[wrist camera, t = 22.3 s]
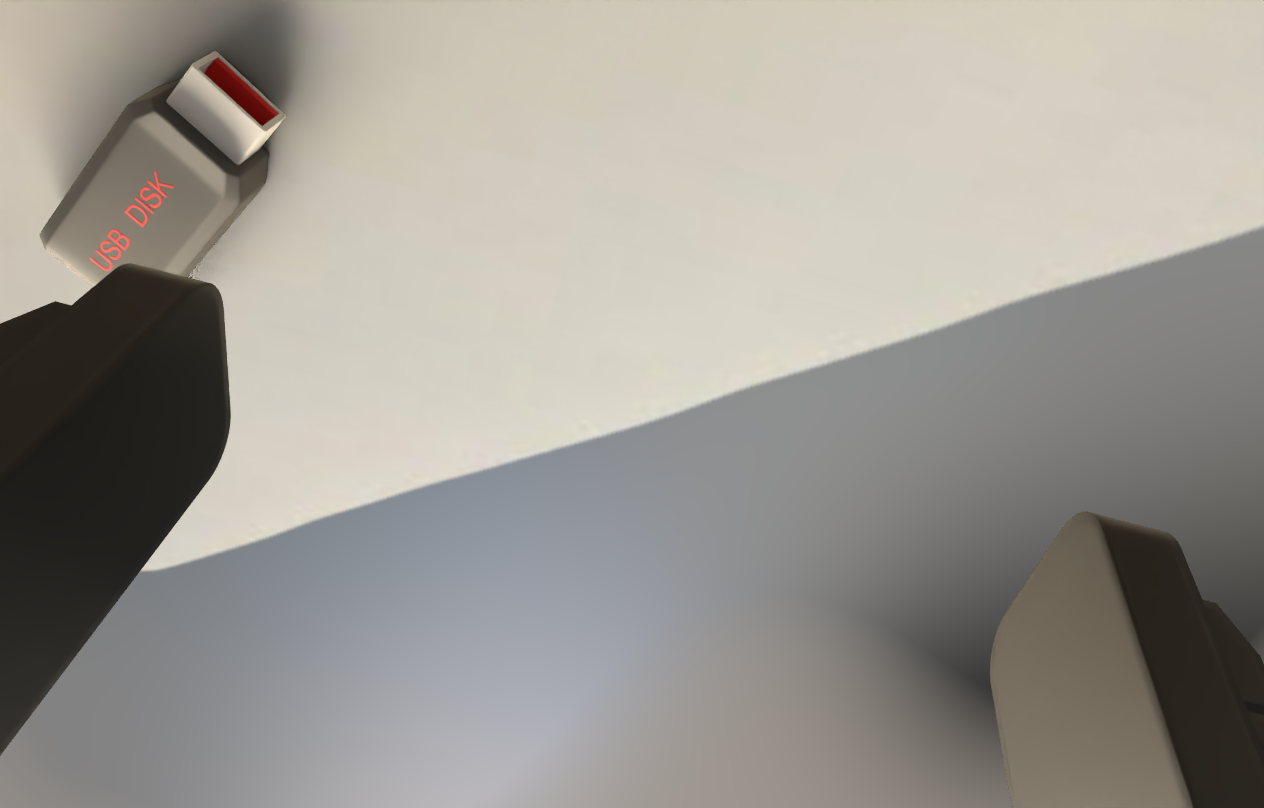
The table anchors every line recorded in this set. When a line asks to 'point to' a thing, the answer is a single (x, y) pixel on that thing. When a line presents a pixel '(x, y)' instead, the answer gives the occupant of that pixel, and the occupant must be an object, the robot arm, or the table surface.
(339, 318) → the table surface
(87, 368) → the robot arm
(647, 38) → the table surface
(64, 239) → the usb drive
